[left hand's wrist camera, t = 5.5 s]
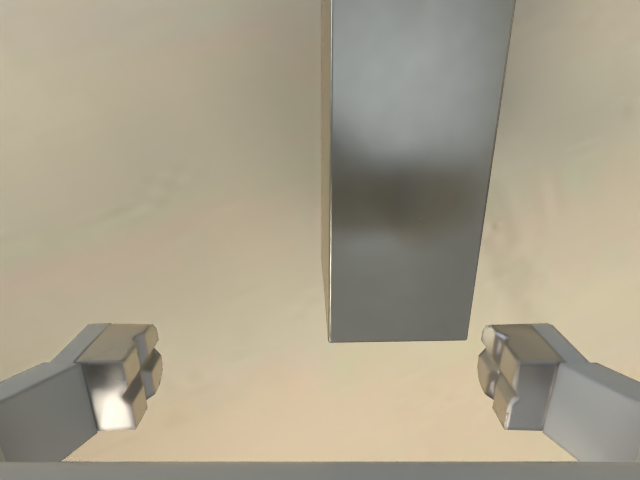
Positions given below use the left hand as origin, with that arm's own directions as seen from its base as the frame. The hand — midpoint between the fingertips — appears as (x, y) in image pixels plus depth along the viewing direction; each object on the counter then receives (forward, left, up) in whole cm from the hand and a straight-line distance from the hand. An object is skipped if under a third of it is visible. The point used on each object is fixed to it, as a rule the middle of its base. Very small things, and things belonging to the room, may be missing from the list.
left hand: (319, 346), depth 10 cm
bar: (+10, -3, -13) cm, 17 cm away
